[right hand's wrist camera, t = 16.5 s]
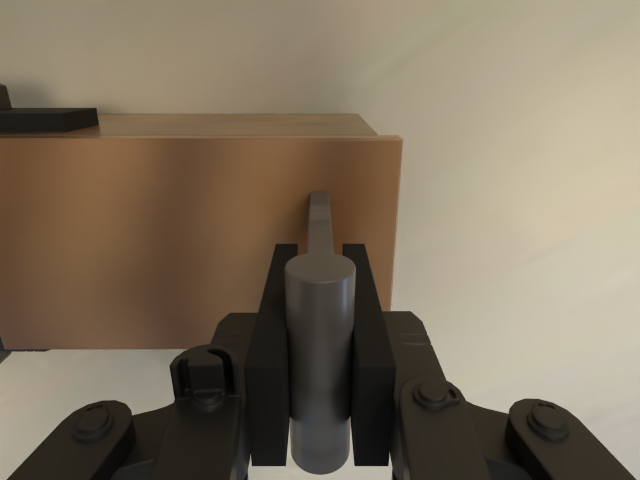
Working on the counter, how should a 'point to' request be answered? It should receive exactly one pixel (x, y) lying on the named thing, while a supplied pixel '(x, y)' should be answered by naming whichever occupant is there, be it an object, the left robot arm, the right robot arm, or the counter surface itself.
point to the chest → (221, 125)
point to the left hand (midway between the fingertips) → (103, 227)
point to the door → (199, 250)
